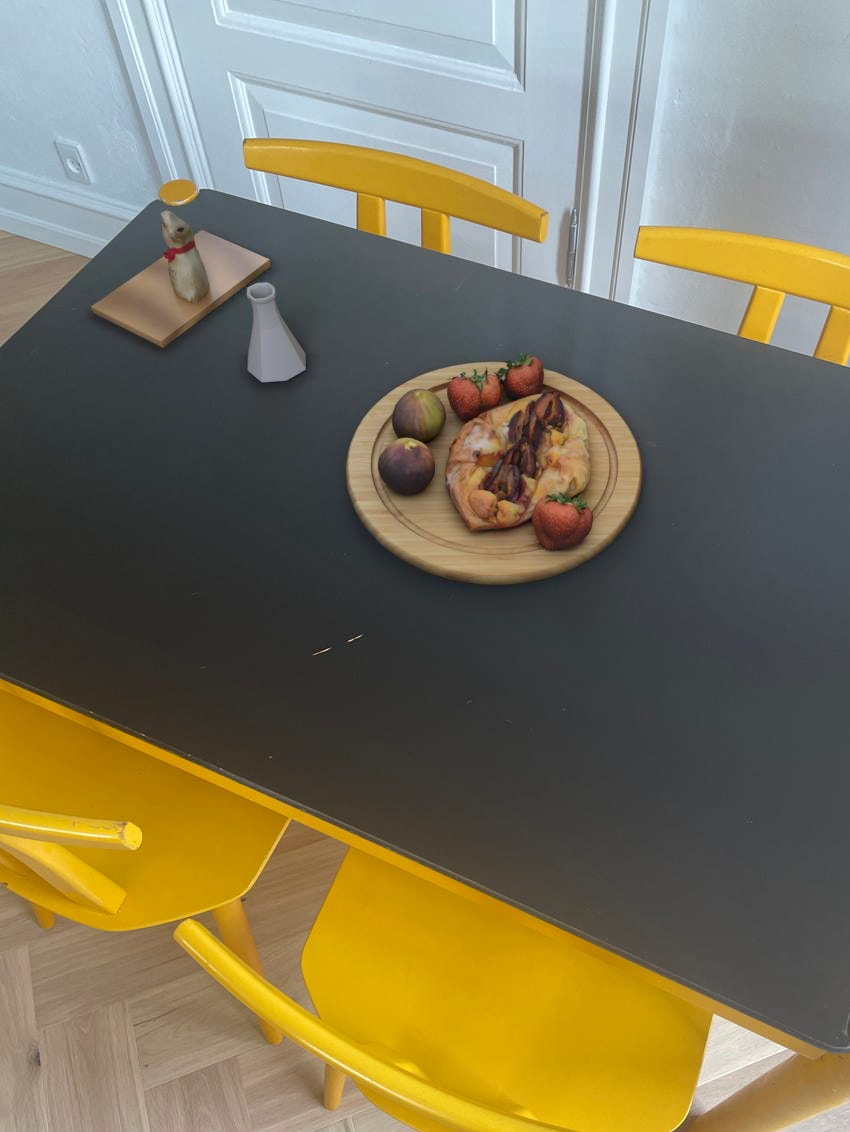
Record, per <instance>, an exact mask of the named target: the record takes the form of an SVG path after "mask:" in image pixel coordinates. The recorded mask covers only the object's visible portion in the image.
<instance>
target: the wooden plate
mask: <svg viewBox="0 0 850 1132" xmlns="http://www.w3.org/2000/svg"><path fill="white" fill-rule="evenodd" d="M518 356H519V357H520V358H519V359H515V360H513V361H512V360H511V359H509V360H503V361H482V362H469V363H462V364H456V365H451V366H445V367H442V368H438V369H435V370H432V371H429V372H426V373H423V374H421V375H418V376H416V377H414V378H411V379H409V380H407V381H406V382H404V383H402V384H400V385H399V386H397V387H395V388H393V389H391V391H389V392H388V393H387V394H386V395H383V397H382V398H380V400H378V401H377V402H376V403H375V404H374V405H373V406H372V407H371V408H370V409H369V411H367V413H365V415H364V416H363V417H362V419H361V420H360V422H359V424H358V425H357V428H356V429H355V431H354V433H353V435H352V438H351V441H350V443H349V447H348V451H347V455H346V459H345V460H346V461H345V479H346V480H345V482H346V489H347V492H348V496H349V499H350V502H351V504H352V506H353V509H354V511H355V513H356V515H357V517H358V518H359V520H360V522H361V523H362V525H363V526H364V528H365V529H366V530H367V531H368V533H369V534H370V535H371V537H373V538H374V540H375V541H376V542H377V543H378V544H380V546H381V547H383V548H384V549H386V551H388V552H390V553H391V554H393V555H394V556H395V557H397V558H399V559H401V560H402V561H404V562H405V563H407V564H409V565H411V566H413V567H415V568H416V569H419V570H421V571H423V572H425V573H428V574H431V575H434V576H436V577H440V578H443V579H448V580H451V581H457V582H460V583H461V582H462V583H466V584H467V583H468V584H475V585H487V586H489V585H490V586H499V585H501V586H503V585H518V584H524V583H532V582H536V581H541V580H544V579H550V578H553V577H555V576H557V575H561V574H564V573H566V572H568V571H571V570H573V569H575V568H578V567H579V566H581V565H583V564H585V563H586V562H588V561H590V560H592V559H593V558H594V557H596V556H597V555H599V554H600V553H602V551H605V550H606V549H607V548H608V547H609V546H610V545H611V544H612V543H613V542H614V541H615V540H616V539H617V538H618V537H619V536H620V535H621V533H622V532H623V531H624V529H625V528H626V526H627V525H628V523H629V522H630V521H631V519H632V517H633V515H634V513H635V511H636V508H637V507H638V503H639V501H640V496H641V491H642V486H643V473H644V472H643V471H644V470H643V461H642V456H641V452H640V449H639V446H638V443H637V440H636V438H635V436H634V434H633V432H632V430H631V428H630V427H629V425H628V424H627V423H626V421H625V420H624V419H623V417H622V416H621V415H620V413H619V412H618V411H617V410H616V409H615V408H614V406H613V405H611V404H610V403H609V402H608V401H607V400H606V399H605V398H603V397H602V396H601V395H599V394H598V393H597V392H595V391H594V390H592V389H591V388H589V387H588V386H586V385H584V384H582V383H581V382H578V381H577V380H574V379H572V378H570V377H568V376H566V375H563V374H561V373H559V372H557V371H553V370H550V369H546V368H544V366H543V363H542V361H541V360H540V359H538V358H537V357H535V356H531V353H529V354H527V353H526V354H524V351H520V353H519V355H518Z"/></svg>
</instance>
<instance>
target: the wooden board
mask: <svg viewBox="0 0 850 1132" xmlns="http://www.w3.org/2000/svg"><path fill="white" fill-rule="evenodd" d="M194 241H195V245H196V248H197V249H198V251H199V253H200V257H201V260H202V262H203V264H204V267H205V270H206V273H207V277H208V282H209V285H208V291H207V293H206V294H205V295H204V296H203V297H201V298H200V299H199V300H198V302H197V303H191V302H188V301H186V300H182V299H180V298H179V297H178V296H177V295H176V293H175V291H174V289H173V286H172V284H171V281H170V277H169V272H168V259H166V258H165V257H164V255H162V257H161V258H159V259H157V260H156V261H154V262H153V263H152V264H150V265H149V266H148V267H146V268H145V269H143V270H141V271H140V272H139V273H137V274H136V275H134V276H133V277H131V278H130V279H129V280H127V281H126V282H124V283H123V284H121V285H119V287H117V288H115V289H114V290H113V291H111V292H109V293H108V294H107V295H106V296H104V297H103V298H101V299H99V300H98V301H97V302H96V303H94V304H93V305H91V306H90V308H91V311H92V312H93V314H94V315H97V316H99V317H100V318H102V319H104V320H107V321H108V322H110V323H112V324H114V325H116V326H119V327H120V328H122V329H124V330H126V331H128V332H130V333H132V334H135V335H136V336H139V337H140V338H142V339H144V340H146V341H149V342H150V343H152V344H154V345H156V346H158V347H160V348H165V347H167V346H168V345H170V344H171V343H172V342H173V341H175V340H176V339H177V338H178V337H180V336H181V335H182V334H184V333H185V332H187V331H188V330H189V329H190V328H191V327H193V326H194V325H196V324H197V323H199V321H201V320H202V319H204V318H205V317H206V316H208V315H209V314H210V313H211V312H212V311H214V310H215V309H217V308H218V307H219V306H221V305H222V304H223V303H225V302H226V301H227V300H228V299H230V298H231V297H232V296H234V295H235V294H236V293H238V292H239V291H241V290H242V289H243V288H245V286H247V285H248V284H249V283H251V282H252V281H254V280H255V279H256V278H258V277H259V276H260V275H261V274H263V273H264V272H266V270H268V269H269V268H270V267H272V263H271V259H270V258H267V257H266V256H263V255H260V254H258V253H256V252H254V251H252V250H249V249H247V248H245V247H243V246H241V245H238V244H237V243H233V242H231V241H229V240H227V239H225V238H222V237H220V236H217V235H215V234H214V233H211V232H208V231H207V230H205V229H201V230H199V231H198V232H196V233H194Z"/></svg>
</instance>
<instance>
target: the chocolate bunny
mask: <svg viewBox="0 0 850 1132" xmlns="http://www.w3.org/2000/svg"><path fill="white" fill-rule="evenodd" d="M160 218H161V222H162V224H161V234H162V238H163V240H164V242H165V244H166V246H167V248H168V249H167V250H166V251H163V253H162V254H163V256H164V257H165V258H166V259H168V272H169V277H170V281H171V284H172V286H173V289H174V291H175V293H176V295H177V296H178V297H179V298H180V299H182V300H186V301H188V302H191V303H197V302H198V300H199V299H200V298H201V297H203V296H204V295H205V294H206V293H207V291H208V285H209V282H208V277H207V273H206V270H205V267H204V264H203V262H202V260H201V257H200V253H199V251H198V249H197V248H196V245H195V241H194V235H195V233H194V231H193V229H192V227H191V225H189V224H188V223H187V222H186V221H184V220H183V219H181V218H180V217H178V216H177V215H175V213H174V212H173V211H170V210H168V209H166V210H164V211H162V212H160Z"/></svg>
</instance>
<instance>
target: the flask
mask: <svg viewBox="0 0 850 1132" xmlns="http://www.w3.org/2000/svg"><path fill="white" fill-rule="evenodd" d="M246 296H247V299H248V300H249V301H250V303H251V307H252V318H253V319H252V320H253V321H252V327H251V336H250V341H249V347H248V352H247V372H249V373H250V374H251V375H252V376H253V377H255V378H256V379H257V380H258V381H260V382H261V383H271V382H274V383H275V382H284V381H289V380H290V379H292V378H293V377H296V376H297V375H299V374H301V373H302V372H304V371H306V370H307V368H306V367H307V362H306V356H307V355H306V354H307V353H306V352H305V350H304V349H303V347H302V346H301V345H300V343H299V342H298V340H297V339H296V336H294V335H293V333H292V331H291V330H290V328H289V326H288V325H287V323H286V322H285V320H284V319H283V317H282V315H281V313H280V310H279V308H278V306H277V303H276V287H275V286H273V285H272V284H271V283H270V282H267V281H266V282H256V283H254V284H252V285H250V286H248V287H246Z"/></svg>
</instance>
